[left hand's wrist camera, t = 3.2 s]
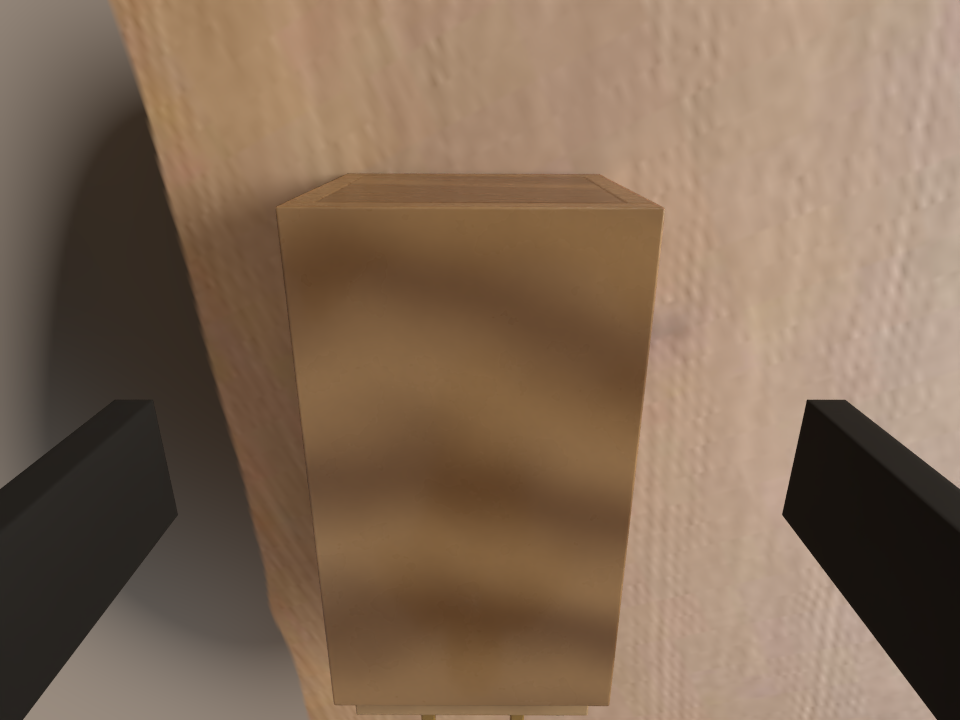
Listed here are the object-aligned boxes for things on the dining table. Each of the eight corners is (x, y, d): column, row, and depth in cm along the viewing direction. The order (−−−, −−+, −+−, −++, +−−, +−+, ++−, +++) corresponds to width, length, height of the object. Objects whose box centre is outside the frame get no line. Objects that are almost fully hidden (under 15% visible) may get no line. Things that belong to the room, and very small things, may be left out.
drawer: (557, 664, 36) (578, 812, 28) (390, 664, 36) (366, 811, 28) (585, 245, 27) (627, 298, 19) (361, 245, 27) (314, 297, 19)
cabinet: (574, 542, 33) (609, 706, 24) (374, 542, 33) (333, 705, 24) (601, 174, 26) (666, 207, 17) (346, 173, 26) (274, 206, 17)
